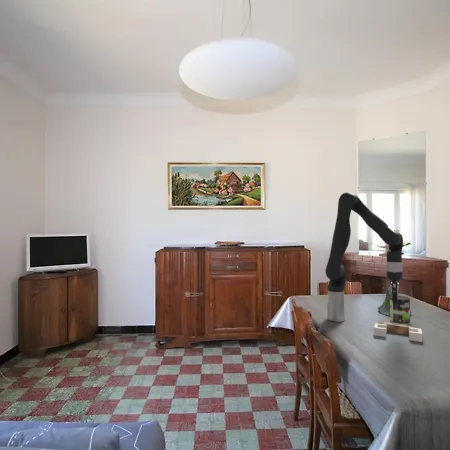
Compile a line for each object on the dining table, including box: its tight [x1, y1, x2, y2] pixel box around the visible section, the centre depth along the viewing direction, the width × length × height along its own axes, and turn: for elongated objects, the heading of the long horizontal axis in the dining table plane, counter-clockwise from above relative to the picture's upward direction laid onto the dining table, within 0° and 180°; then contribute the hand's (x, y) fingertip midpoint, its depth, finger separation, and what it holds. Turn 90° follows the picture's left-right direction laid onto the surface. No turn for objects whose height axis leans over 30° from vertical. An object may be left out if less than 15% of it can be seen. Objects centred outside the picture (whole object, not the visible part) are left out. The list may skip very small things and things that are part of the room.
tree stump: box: [377, 287, 412, 317], centre depth 200 cm, size 18×20×18 cm
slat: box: [378, 320, 415, 336], centre depth 166 cm, size 16×4×4 cm, turn 55°
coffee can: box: [389, 295, 411, 326], centre depth 180 cm, size 10×10×14 cm
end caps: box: [373, 322, 423, 343], centre depth 159 cm, size 21×8×4 cm, turn 61°
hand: (395, 301), depth 166 cm, fingers open, 8 cm apart
